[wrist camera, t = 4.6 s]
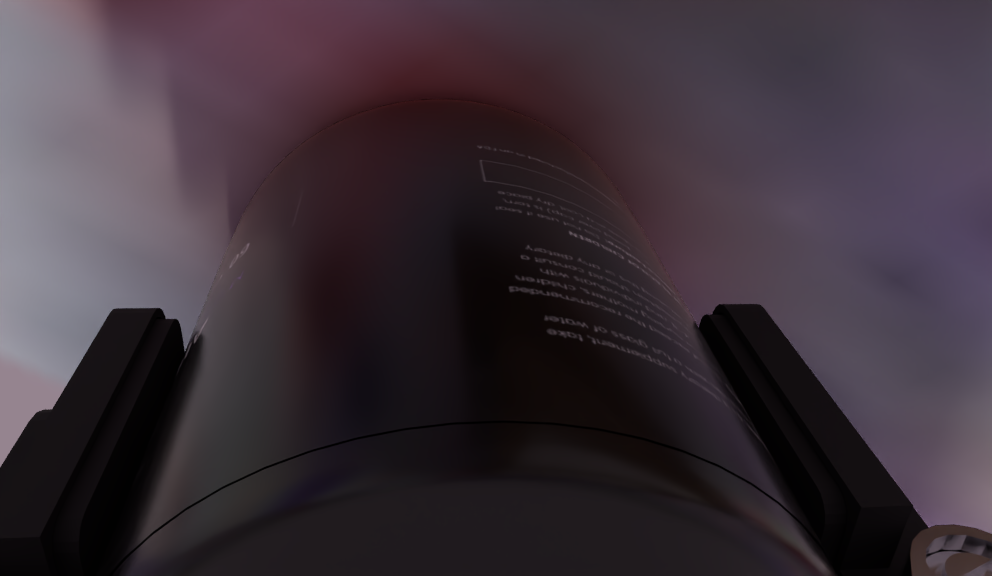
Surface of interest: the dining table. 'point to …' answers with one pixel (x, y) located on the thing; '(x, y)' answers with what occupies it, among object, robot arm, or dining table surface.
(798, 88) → the dining table surface
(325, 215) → the supplement bottle
